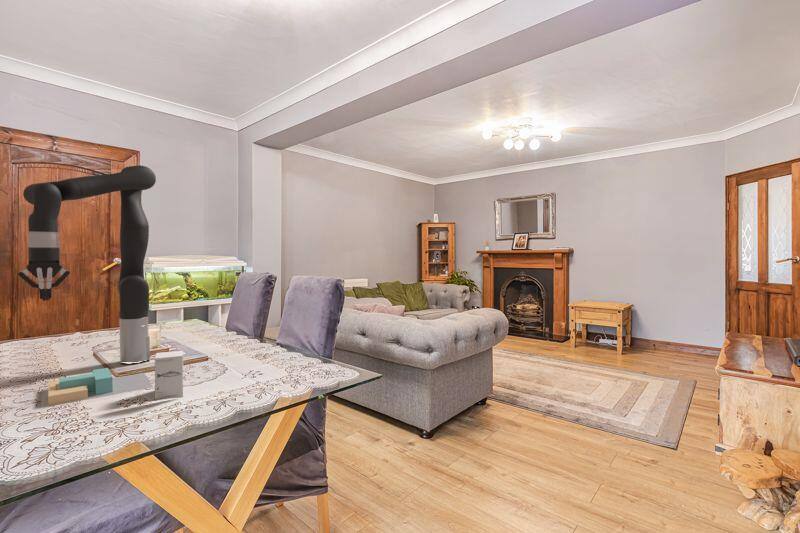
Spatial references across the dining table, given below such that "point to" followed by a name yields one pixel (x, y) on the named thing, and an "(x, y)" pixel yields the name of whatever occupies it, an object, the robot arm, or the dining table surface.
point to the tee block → (90, 381)
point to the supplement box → (169, 375)
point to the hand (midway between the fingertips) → (45, 300)
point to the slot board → (81, 393)
